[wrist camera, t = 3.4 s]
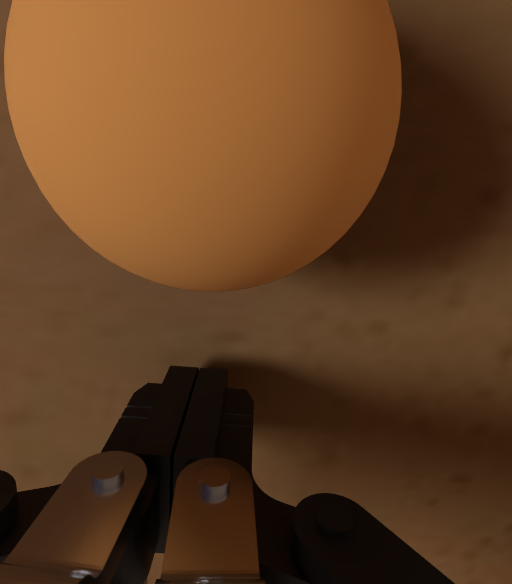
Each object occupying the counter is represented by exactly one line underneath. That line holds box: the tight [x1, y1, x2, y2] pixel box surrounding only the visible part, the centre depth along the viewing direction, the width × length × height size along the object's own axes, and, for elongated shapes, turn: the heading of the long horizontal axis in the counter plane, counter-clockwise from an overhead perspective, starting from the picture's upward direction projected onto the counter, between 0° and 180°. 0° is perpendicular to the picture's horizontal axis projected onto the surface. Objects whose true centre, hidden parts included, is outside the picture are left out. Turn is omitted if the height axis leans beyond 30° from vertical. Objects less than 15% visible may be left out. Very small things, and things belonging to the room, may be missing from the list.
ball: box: [4, 0, 402, 292], centre depth 7 cm, size 6×6×6 cm
